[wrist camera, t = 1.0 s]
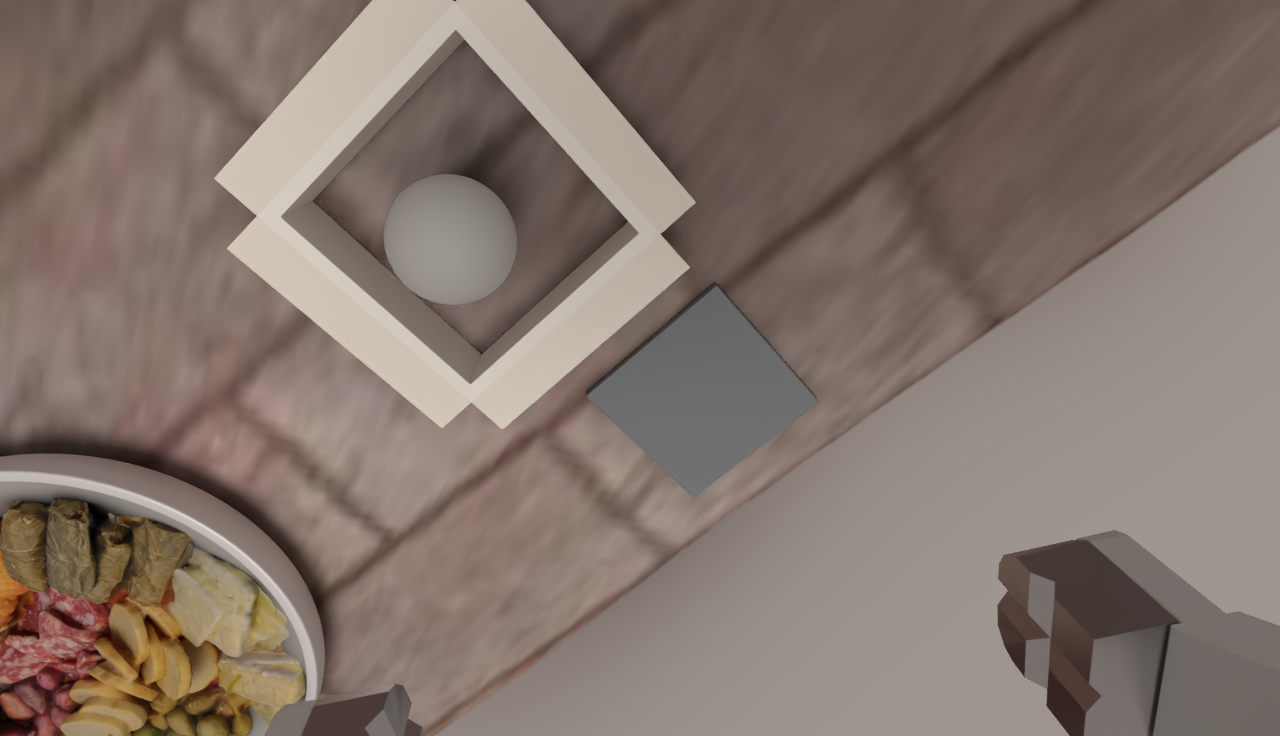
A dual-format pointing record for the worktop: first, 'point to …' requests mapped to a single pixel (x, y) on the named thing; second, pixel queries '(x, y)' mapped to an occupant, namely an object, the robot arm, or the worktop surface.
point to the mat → (702, 392)
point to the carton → (365, 289)
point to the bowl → (143, 607)
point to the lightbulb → (450, 239)
